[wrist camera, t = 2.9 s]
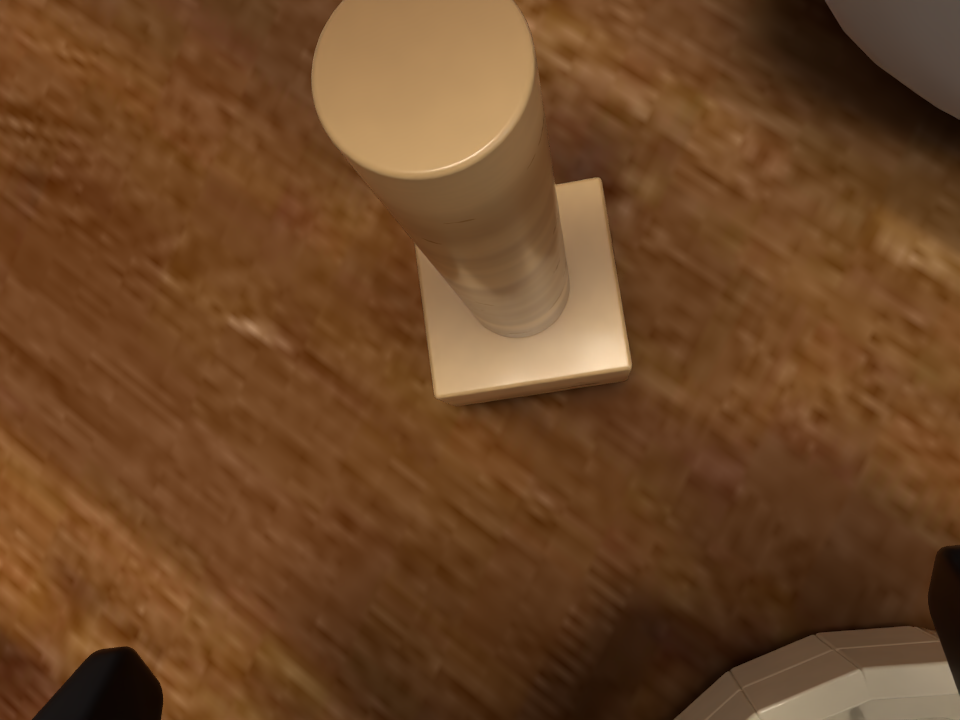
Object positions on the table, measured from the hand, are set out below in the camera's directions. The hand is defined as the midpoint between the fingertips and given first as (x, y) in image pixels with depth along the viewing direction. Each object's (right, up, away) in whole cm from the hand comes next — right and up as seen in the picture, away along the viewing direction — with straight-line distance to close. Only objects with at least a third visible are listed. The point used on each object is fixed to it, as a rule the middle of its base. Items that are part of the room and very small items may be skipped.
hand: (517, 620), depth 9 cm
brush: (+1, +4, +12) cm, 13 cm away
